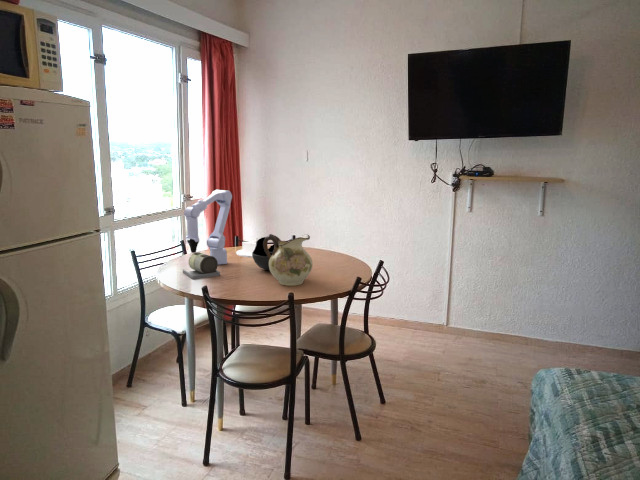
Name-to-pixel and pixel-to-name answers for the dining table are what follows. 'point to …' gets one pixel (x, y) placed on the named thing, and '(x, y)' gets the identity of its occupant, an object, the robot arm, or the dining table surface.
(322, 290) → the dining table surface
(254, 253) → the bowl of black rocks
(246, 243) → the dish
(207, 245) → the robot arm
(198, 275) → the tray
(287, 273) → the pitcher
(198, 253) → the coffee can
